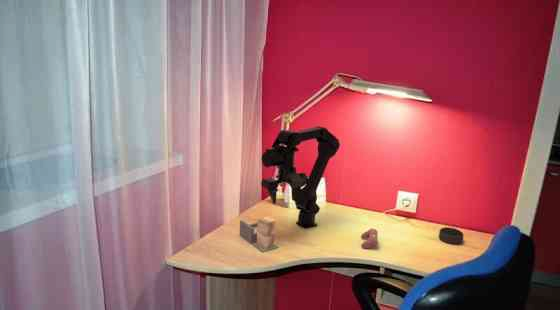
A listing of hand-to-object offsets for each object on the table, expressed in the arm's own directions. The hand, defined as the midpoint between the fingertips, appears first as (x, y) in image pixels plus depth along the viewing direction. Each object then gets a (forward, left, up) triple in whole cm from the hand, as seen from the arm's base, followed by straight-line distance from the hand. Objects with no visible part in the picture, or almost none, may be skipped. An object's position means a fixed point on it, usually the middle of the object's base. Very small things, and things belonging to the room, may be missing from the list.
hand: (283, 202), depth 154 cm
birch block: (+12, +6, -13) cm, 18 cm away
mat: (+12, +6, -13) cm, 19 cm away
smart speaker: (-56, +38, -13) cm, 69 cm away
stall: (+10, -3, -13) cm, 17 cm away
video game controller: (-24, +24, -13) cm, 36 cm away
